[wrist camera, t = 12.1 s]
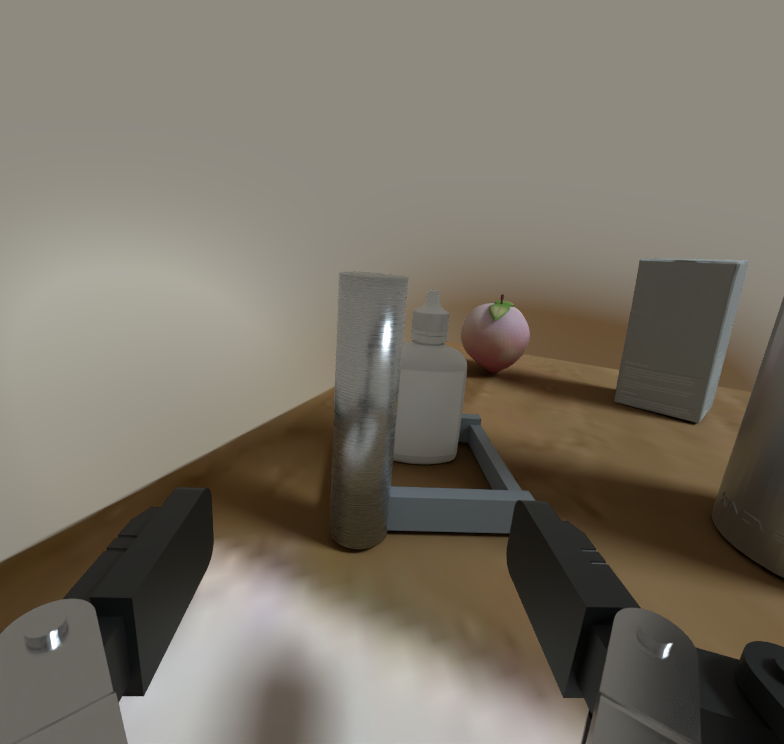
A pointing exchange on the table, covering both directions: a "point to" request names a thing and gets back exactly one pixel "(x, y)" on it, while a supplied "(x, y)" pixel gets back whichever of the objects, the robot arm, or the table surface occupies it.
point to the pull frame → (377, 432)
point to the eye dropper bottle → (429, 390)
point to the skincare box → (679, 334)
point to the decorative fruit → (495, 335)
